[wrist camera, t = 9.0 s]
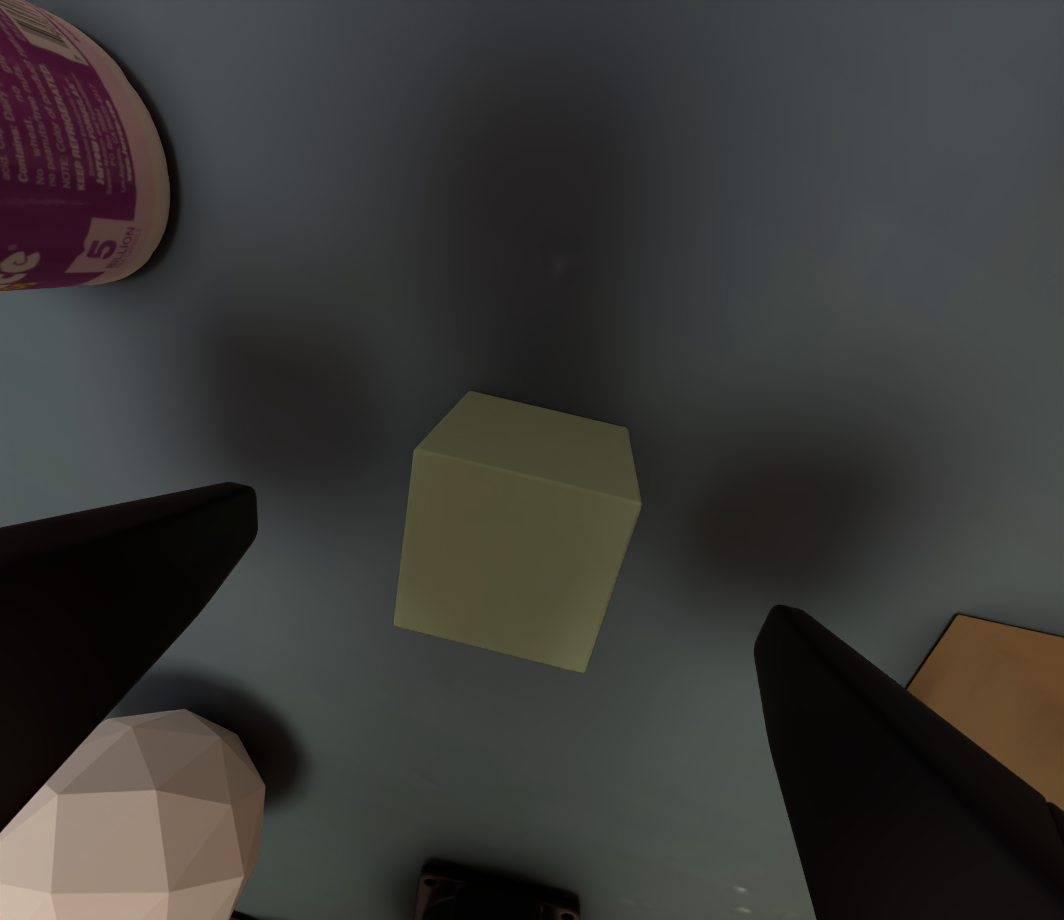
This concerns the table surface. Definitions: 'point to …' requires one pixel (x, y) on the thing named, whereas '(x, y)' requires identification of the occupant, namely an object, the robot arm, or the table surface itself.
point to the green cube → (516, 529)
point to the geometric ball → (138, 826)
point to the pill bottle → (72, 159)
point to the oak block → (1002, 696)
